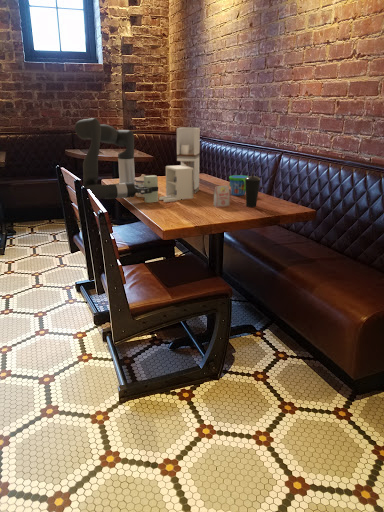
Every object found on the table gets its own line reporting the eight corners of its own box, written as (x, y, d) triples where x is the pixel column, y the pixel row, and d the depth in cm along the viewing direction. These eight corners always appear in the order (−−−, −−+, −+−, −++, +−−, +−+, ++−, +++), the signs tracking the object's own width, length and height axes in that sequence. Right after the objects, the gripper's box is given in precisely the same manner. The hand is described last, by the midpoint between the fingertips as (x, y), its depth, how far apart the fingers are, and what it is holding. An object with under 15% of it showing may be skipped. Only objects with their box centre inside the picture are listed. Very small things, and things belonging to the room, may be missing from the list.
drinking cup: (241, 204, 203) (243, 164, 196) (256, 204, 204) (259, 164, 197) (245, 208, 196) (247, 166, 189) (260, 207, 197) (263, 166, 190)
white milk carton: (213, 205, 201) (214, 185, 197) (226, 204, 203) (226, 184, 199) (216, 207, 197) (216, 187, 194) (229, 206, 199) (229, 186, 196)
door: (144, 201, 209) (143, 176, 204) (155, 200, 212) (154, 175, 207) (148, 203, 205) (147, 177, 201) (158, 201, 208) (158, 176, 203)
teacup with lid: (153, 197, 219) (152, 175, 215) (136, 197, 217) (135, 176, 213) (150, 192, 230) (149, 172, 226) (134, 193, 228) (133, 172, 224)
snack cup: (223, 192, 231) (224, 174, 228) (240, 191, 235) (241, 173, 231) (235, 198, 217) (236, 179, 214) (253, 196, 221) (254, 178, 217)
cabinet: (152, 196, 219) (151, 167, 214) (182, 193, 227) (182, 165, 222) (164, 202, 207) (163, 170, 201) (194, 198, 215) (195, 168, 209)
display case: (181, 188, 242) (181, 127, 229) (199, 189, 240) (199, 127, 227) (177, 192, 231) (176, 128, 219) (195, 193, 229) (195, 128, 217)
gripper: (128, 185, 193) (160, 182, 200) (119, 180, 205) (149, 178, 212) (129, 200, 195) (161, 197, 203) (119, 195, 207) (150, 192, 215)
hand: (155, 187), depth 207 cm, fingers open, 6 cm apart
